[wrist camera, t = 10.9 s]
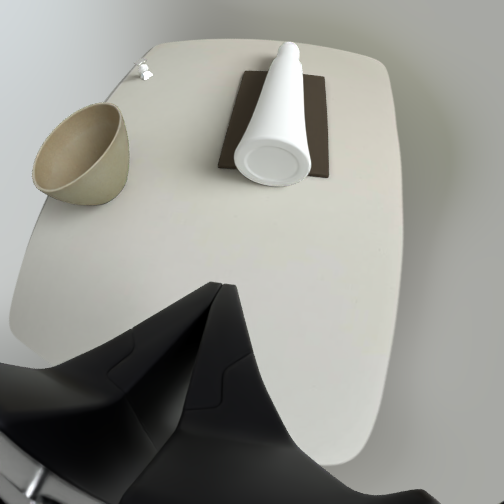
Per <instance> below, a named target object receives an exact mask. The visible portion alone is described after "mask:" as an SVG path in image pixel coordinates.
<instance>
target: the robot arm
mask: <svg viewBox="0 0 504 504" xmlns="http://www.w3.org/2000/svg"><path fill="white" fill-rule="evenodd" d="M0 504H440V503H439V502H438V501H437V500H436V499H435V498H434V497H432V496H431V495H430V494H428V493H427V492H426V491H425V490H422V489H415V490H409V491H403V492H399V493H393V494H387V495H368V494H363V493H360V492H357V491H354V490H352V489H350V488H349V487H347V486H345V485H344V484H343V483H342V482H340V481H339V480H338V479H336V478H335V477H333V476H332V475H331V474H330V473H329V472H327V471H326V470H325V469H323V468H322V467H321V466H320V465H319V464H317V463H316V462H315V461H314V460H312V459H311V458H310V457H309V456H308V455H306V454H305V453H304V452H303V451H302V450H301V449H300V448H299V447H298V446H297V445H296V444H295V442H294V441H293V440H292V438H291V436H290V435H289V433H288V431H287V430H286V428H285V426H284V424H283V422H282V420H281V418H280V416H279V414H278V412H277V410H276V408H275V406H274V404H273V402H272V400H271V398H270V396H269V394H268V392H267V390H266V387H265V385H264V383H263V380H262V378H261V375H260V372H259V369H258V366H257V363H256V359H255V356H254V354H253V349H252V345H251V341H250V337H249V334H248V330H247V326H246V322H245V318H244V314H243V311H242V307H241V303H240V299H239V295H238V291H237V287H236V285H231V284H223V285H222V283H216V282H209V283H207V284H205V285H204V286H202V287H200V288H198V289H197V290H195V291H193V292H192V293H190V294H188V295H187V296H185V297H183V298H182V299H180V300H178V301H177V302H175V303H173V304H172V305H170V306H168V307H167V308H165V309H163V310H162V311H160V312H158V313H157V314H155V315H153V316H151V317H150V318H148V319H146V320H145V321H143V322H141V323H140V324H138V325H136V326H135V327H133V328H132V329H129V330H128V331H126V332H124V333H123V334H121V335H119V336H117V337H115V338H114V339H112V340H110V341H108V342H106V343H104V344H102V345H100V346H98V347H96V348H94V349H92V350H90V351H88V352H86V353H84V354H81V355H79V356H77V357H75V358H73V359H70V360H68V361H66V362H64V363H62V364H59V365H57V366H54V367H51V368H45V369H32V368H26V367H20V366H15V365H9V364H4V363H0ZM499 504H504V501H503V502H501V503H499Z"/></svg>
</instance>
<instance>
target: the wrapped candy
mask: <svg viewBox="0 0 504 504" xmlns="http://www.w3.org/2000/svg"><path fill="white" fill-rule="evenodd" d="M146 61H147V59H145V58H141V59H139V60H138V61H136V62H135V63H134V64H136V65H138V66H140V67H139V68H138V69H139V72H140V73H142V74H141V76H140V78H141V79H144V80H146V79H147V78H149V77H150V76H152V75H153V74H151V73H150V72H148V66H147V65H146V64H145V63H146Z"/></svg>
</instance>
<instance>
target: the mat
mask: <svg viewBox="0 0 504 504" xmlns="http://www.w3.org/2000/svg"><path fill="white" fill-rule="evenodd" d="M267 74H268V71H245V72H244V75H243V78H242V82H241V85H240V88H239V91H238V95H237V98H236V102H235V105H234V108H233V112H232V115H231V119H230V122H229V126H228V129H227V133H226V137H225V140H224V144H223V148H222V152H221V155H220V159H219V163H218V168H230V169H238V168H237V167H236V165H235V162H234V153H235V150H236V148H237V146H238V145H239V143H240V141H241V139H242V137H243V135H244V133H245V131H246V129H247V127H248V125H249V123H250V121H251V118H252V116H253V113H254V111H255V108H256V105H257V103H258V100H259V97H260V94H261V91H262V88H263V85H264V83H265V80H266V77H267ZM303 93H304V117H305V128H306V137H307V144H308V149H309V155H310V160H311V169H310V172H309V173H308V175H309V176H317V177H324V178H328V176H329V156H328V125H327V106H326V91H325V79H324V77H322V76H314V75H306V74H303Z"/></svg>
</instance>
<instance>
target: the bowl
mask: <svg viewBox="0 0 504 504" xmlns="http://www.w3.org/2000/svg"><path fill="white" fill-rule="evenodd" d="M128 170H129V142H128V135H127V131H126V126H125V123H124V119H123V117H122V114H121V111H120V109H119V108H118V107H117V106H116V105H114V104H112V103H104V102H103V103H96V104H92V105H89V106H86V107H84V108H82V109H80V110H78V111H76V112H75V113H73V114H72V115H70V116H69V117H68V118H66V119H65V120H64V121H63V122H61V123H60V124H59V125H58V126H57V127H56V128H55V129H54V130H53V131H52V133H51V134H50V135H49V136H48V137H47V138H46V140H45V141H44V143H43V144H42V146H41V148H40V150H39V151H38V153H37V156H36V158H35V161H34V165H33V170H32V179H33V182H34V185H35V186H36V188H38V189H39V190H40V191H42V192H43V193H45V194H47V195H48V196H50V197H53V198H55V199H57V200H60V201H63V202H67V203H71V204H77V205H99V204H104V203H107V202H109V201H111V200H112V199H114V198H115V197H116V196H117V195H118V194H119V193H120V192H121V190H122V189H123V187H124V185H125V183H126V180H127V176H128Z"/></svg>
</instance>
